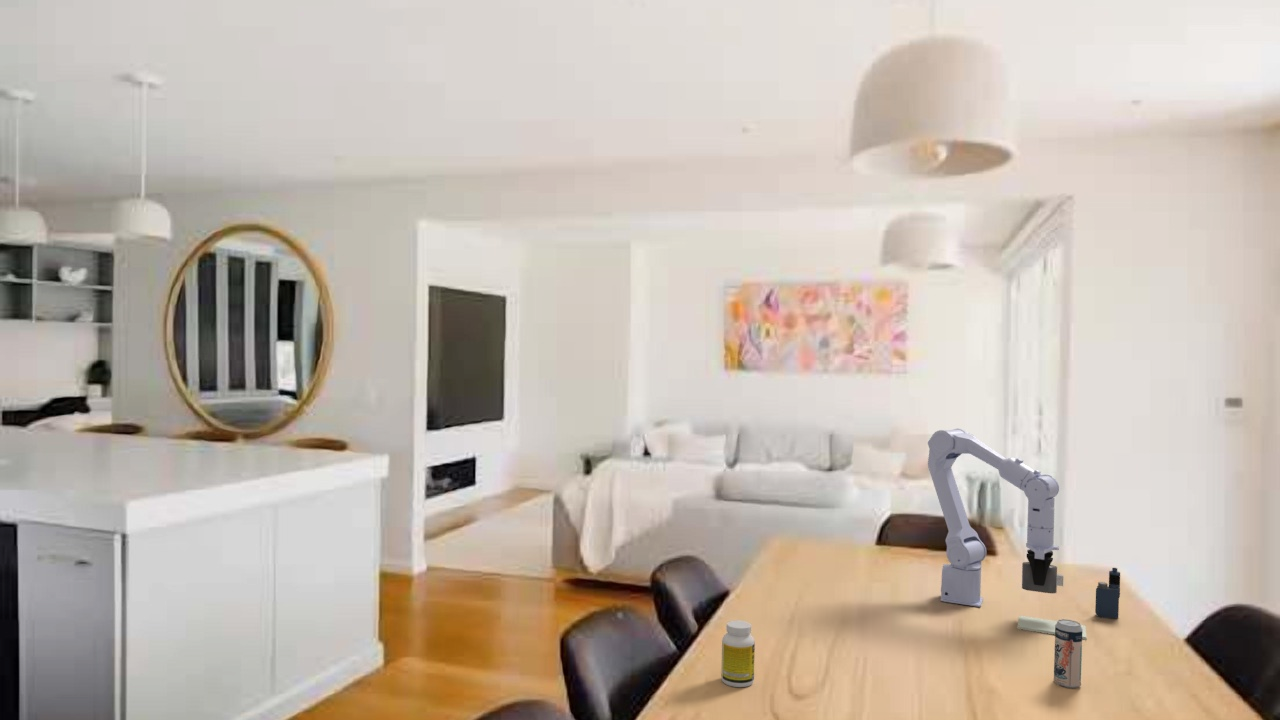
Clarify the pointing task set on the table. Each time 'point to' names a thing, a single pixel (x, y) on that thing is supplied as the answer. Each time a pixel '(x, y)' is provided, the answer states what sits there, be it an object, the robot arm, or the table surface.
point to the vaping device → (1108, 596)
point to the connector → (1050, 582)
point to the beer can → (1068, 653)
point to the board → (1041, 625)
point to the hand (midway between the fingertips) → (1039, 582)
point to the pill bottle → (738, 654)
